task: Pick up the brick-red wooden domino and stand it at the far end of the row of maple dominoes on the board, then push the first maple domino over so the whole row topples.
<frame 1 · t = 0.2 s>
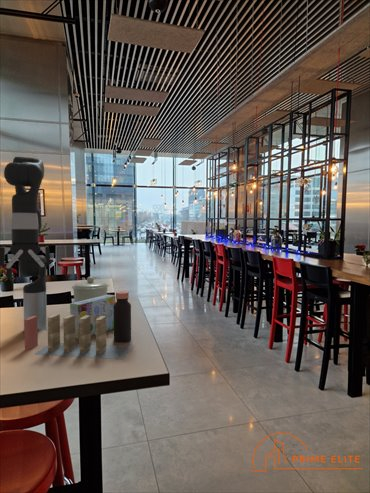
hand: (26, 279, 99), 28 cm above the table, tool pointing down, fingers open, 8 cm apart
domino 3: (85, 350, 113), point 1 cm above the table, touching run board
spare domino: (31, 350, 116), on the table
bottle: (122, 343, 124), on the table
snack box: (94, 333, 135), on the table
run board: (85, 352, 113), on the table
domino 2: (69, 349, 113), point 1 cm above the table, touching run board
canister: (90, 318, 160), on the table
domino 1: (54, 348, 114), point 1 cm above the table, touching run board
domino 4: (101, 351, 112), point 1 cm above the table, touching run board
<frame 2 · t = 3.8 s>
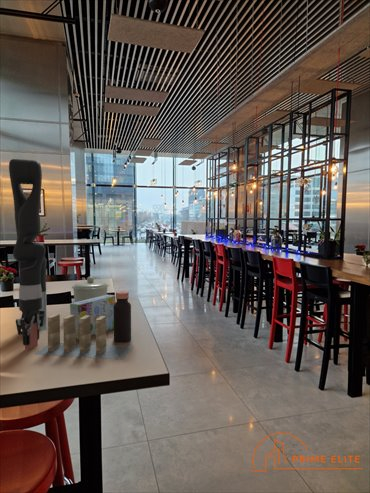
hand: (31, 342, 115), 3 cm above the table, tool pointing down, fingers closed on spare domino, 5 cm apart
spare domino: (31, 350, 116), on the table, touching gripper
everything else where it was.
when the fingers open (5 cm above the table, at t = 11.4 s): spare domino stays where it is, resting on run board.
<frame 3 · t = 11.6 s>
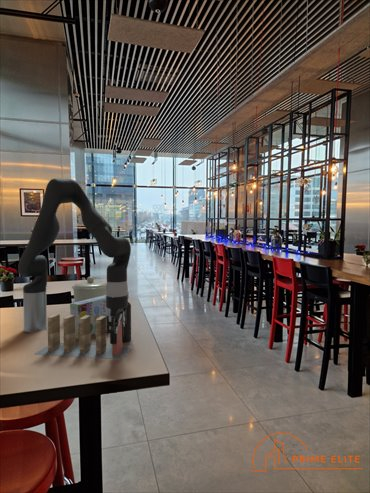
hand: (117, 340, 111), 5 cm above the table, tool pointing down, fingers open, 6 cm apart
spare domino: (117, 351, 111), point 1 cm above the table, touching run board
everything else where it was.
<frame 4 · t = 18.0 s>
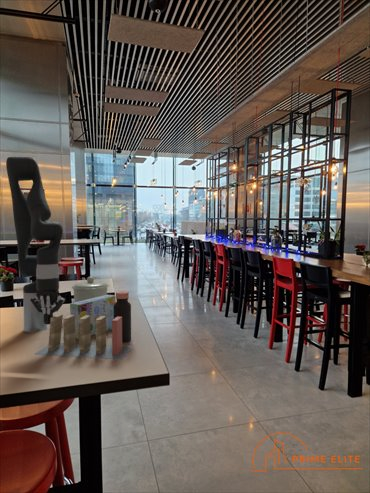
hand: (48, 323, 114), 10 cm above the table, tool pointing down, fingers closed
domino 1: (54, 348, 114), point 1 cm above the table, tilted 6°, touching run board
everything else where it was.
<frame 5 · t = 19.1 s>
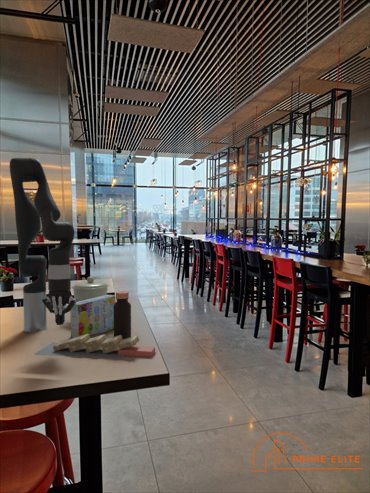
hand: (60, 324, 114), 10 cm above the table, tool pointing down, fingers closed
domino 3: (89, 348, 112), point 2 cm above the table, tilted 72°, touching domino 2, domino 4, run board
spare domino: (120, 349, 111), point 2 cm above the table, tilted 90°, touching domino 4, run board
domino 2: (73, 347, 113), point 2 cm above the table, tilted 72°, touching domino 1, domino 3, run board
domino 1: (57, 346, 114), point 2 cm above the table, tilted 73°, touching domino 2, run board
domino 4: (105, 348, 112), point 2 cm above the table, tilted 72°, touching domino 3, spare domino
everything else where it was.
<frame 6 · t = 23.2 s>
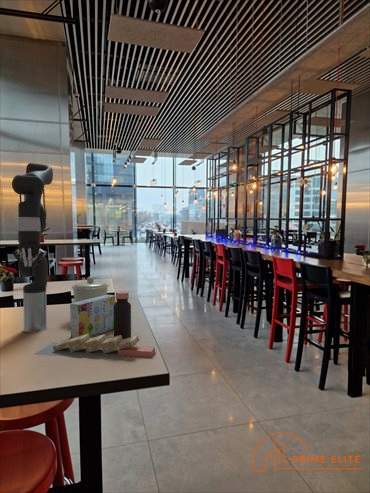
hand: (30, 276, 117), 27 cm above the table, tool pointing down, fingers closed
nothing on the table moved.
at the end: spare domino inside the target area (0.2 cm from its centre), point 1.9 cm above the table; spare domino tilted 90°; domino 3 tilted 72° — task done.
